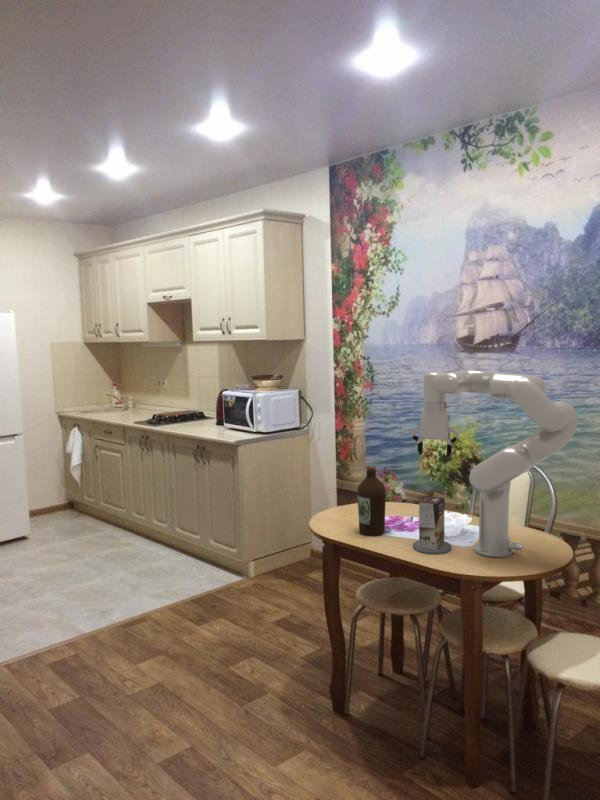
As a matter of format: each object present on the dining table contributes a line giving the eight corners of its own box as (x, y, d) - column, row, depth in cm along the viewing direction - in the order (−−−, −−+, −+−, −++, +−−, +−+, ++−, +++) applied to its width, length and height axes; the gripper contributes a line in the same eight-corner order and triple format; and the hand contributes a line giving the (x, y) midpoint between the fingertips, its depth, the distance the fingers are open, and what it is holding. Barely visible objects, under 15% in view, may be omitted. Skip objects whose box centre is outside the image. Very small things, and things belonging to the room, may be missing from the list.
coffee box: (436, 550, 220) (436, 503, 218) (418, 547, 223) (418, 501, 222) (444, 542, 228) (444, 497, 226) (427, 540, 231) (427, 495, 230)
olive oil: (373, 526, 252) (372, 462, 249) (392, 533, 243) (391, 467, 241) (351, 531, 246) (350, 466, 243) (370, 538, 237) (369, 471, 235)
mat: (454, 544, 229) (454, 541, 229) (446, 556, 217) (446, 553, 217) (418, 540, 235) (418, 537, 234) (408, 551, 223) (408, 548, 223)
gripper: (461, 406, 229) (461, 454, 231) (412, 404, 235) (412, 451, 237) (458, 408, 222) (458, 458, 224) (408, 407, 228) (408, 455, 230)
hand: (434, 454), depth 231 cm, fingers open, 9 cm apart
